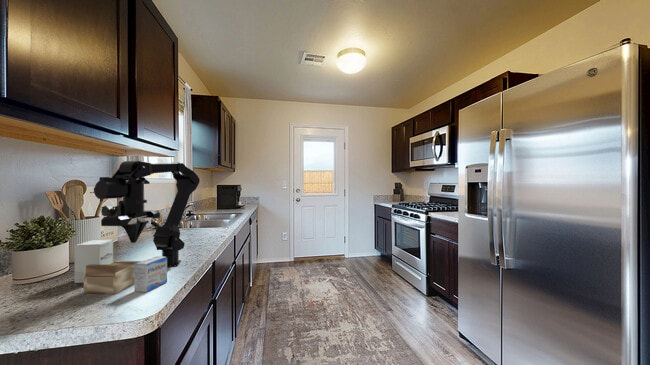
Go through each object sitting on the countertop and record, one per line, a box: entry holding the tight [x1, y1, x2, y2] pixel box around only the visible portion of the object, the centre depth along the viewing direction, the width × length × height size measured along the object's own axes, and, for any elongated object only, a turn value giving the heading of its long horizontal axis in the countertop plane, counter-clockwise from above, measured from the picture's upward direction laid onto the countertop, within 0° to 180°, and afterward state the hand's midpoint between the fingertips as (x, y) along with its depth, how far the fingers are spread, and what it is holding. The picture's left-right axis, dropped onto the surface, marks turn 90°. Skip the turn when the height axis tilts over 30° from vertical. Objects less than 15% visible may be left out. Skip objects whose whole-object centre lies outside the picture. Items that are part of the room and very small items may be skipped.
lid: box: [86, 263, 136, 276], centre depth 79 cm, size 10×9×3 cm
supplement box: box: [74, 239, 114, 284], centre depth 86 cm, size 7×7×13 cm
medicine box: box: [134, 255, 168, 293], centre depth 79 cm, size 8×4×9 cm, turn 168°
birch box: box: [83, 260, 143, 295], centre depth 80 cm, size 11×10×6 cm
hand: (133, 242), depth 85 cm, fingers closed
